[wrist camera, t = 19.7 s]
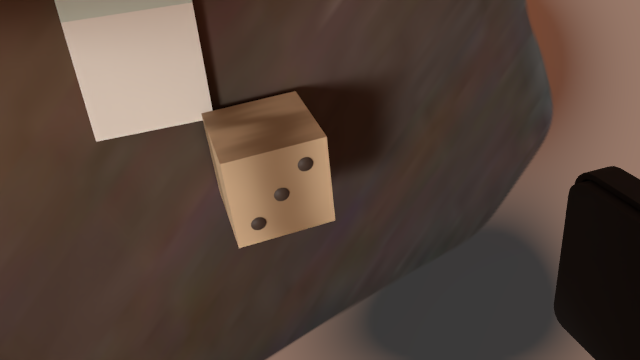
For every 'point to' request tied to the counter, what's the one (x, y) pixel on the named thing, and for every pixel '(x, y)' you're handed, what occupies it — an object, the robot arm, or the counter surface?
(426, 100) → the counter surface
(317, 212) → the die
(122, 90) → the track
